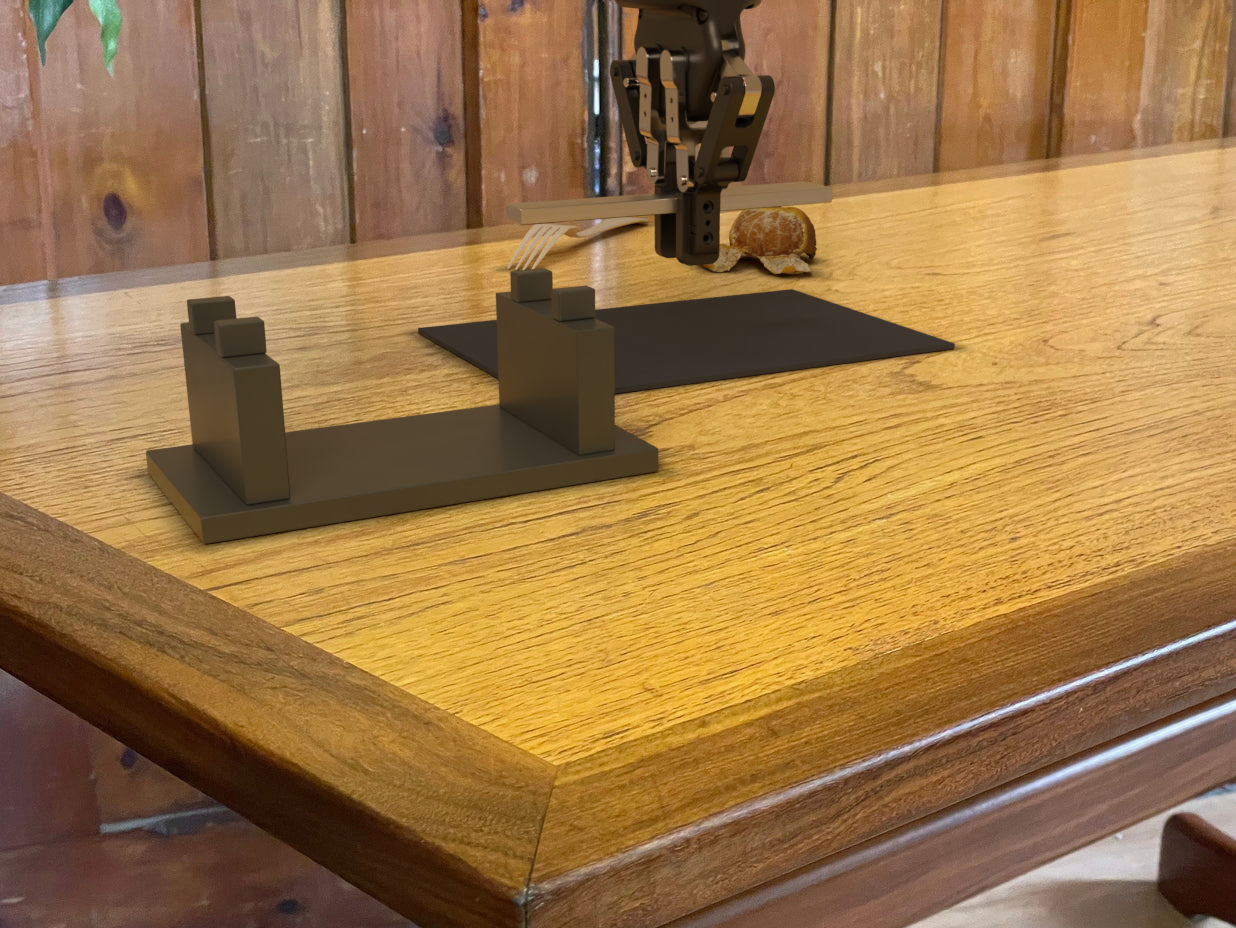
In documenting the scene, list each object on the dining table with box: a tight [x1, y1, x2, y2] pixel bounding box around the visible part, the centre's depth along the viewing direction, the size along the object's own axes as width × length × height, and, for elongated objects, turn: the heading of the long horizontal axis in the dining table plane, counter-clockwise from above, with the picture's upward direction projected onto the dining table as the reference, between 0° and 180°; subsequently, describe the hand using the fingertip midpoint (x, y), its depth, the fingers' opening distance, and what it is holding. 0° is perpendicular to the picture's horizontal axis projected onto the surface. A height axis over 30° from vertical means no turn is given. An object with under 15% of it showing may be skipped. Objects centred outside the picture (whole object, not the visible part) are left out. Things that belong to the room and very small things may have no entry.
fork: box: [506, 217, 650, 271], centre depth 113 cm, size 3×21×3 cm, turn 162°
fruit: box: [702, 206, 818, 275], centre depth 107 cm, size 8×8×4 cm
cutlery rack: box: [145, 267, 659, 545], centre depth 63 cm, size 18×9×7 cm, turn 120°
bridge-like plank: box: [505, 180, 833, 226], centre depth 83 cm, size 18×3×1 cm, turn 120°
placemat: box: [417, 288, 956, 395], centre depth 86 cm, size 24×16×1 cm, turn 120°
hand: (687, 258), depth 84 cm, fingers closed on bridge-like plank
